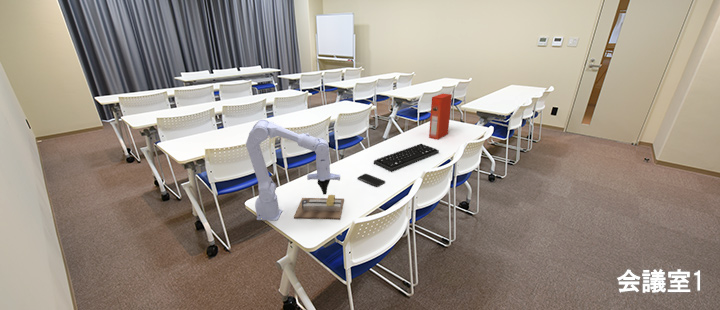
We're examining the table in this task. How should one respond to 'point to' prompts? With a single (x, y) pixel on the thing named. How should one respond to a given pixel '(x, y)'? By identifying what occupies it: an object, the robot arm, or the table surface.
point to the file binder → (440, 116)
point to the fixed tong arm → (320, 207)
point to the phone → (371, 180)
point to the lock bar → (330, 200)
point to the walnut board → (317, 214)
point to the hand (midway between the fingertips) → (324, 193)
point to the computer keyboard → (405, 157)
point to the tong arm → (324, 201)
